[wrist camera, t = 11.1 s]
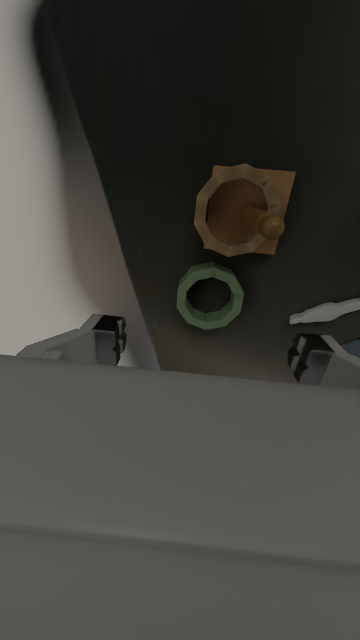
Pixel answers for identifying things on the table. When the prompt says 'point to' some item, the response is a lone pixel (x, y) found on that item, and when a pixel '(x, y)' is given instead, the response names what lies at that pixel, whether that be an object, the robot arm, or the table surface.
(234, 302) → the sage ring
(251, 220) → the peg stand
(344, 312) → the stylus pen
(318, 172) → the table surface
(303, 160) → the table surface
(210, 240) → the birch ring
